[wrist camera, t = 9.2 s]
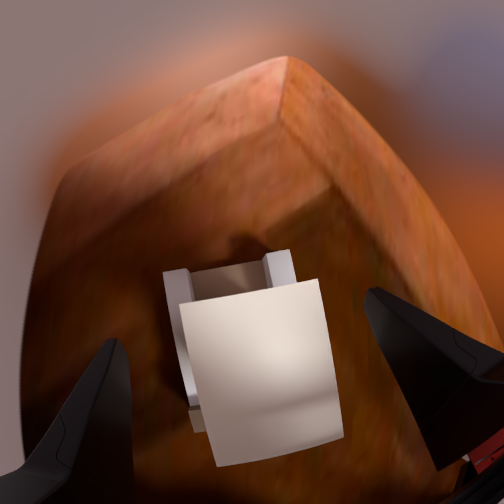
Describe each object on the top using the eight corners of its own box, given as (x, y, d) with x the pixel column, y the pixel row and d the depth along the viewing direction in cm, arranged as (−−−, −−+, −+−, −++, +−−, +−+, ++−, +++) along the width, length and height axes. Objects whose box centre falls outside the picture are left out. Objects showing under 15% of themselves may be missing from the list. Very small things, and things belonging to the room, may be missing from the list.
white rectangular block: (270, 362, 19) (344, 437, 6) (221, 371, 19) (217, 466, 6) (258, 300, 20) (317, 278, 7) (209, 309, 19) (179, 303, 7)
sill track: (311, 388, 20) (329, 403, 16) (195, 412, 19) (189, 433, 15) (284, 257, 21) (297, 244, 17) (167, 278, 20) (154, 270, 16)
